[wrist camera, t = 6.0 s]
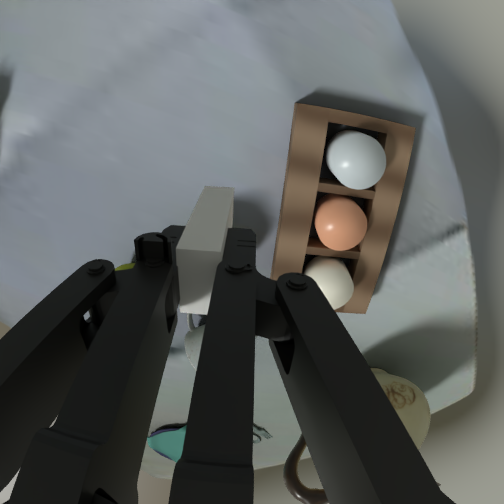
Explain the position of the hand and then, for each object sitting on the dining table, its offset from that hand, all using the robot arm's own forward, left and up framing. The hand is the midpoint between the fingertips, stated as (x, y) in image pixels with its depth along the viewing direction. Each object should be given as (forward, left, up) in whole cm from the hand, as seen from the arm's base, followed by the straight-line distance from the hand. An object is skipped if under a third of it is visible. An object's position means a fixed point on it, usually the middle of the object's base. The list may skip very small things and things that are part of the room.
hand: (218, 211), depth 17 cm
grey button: (-1, +13, -21) cm, 24 cm away
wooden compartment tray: (+7, +13, -22) cm, 27 cm away
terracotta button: (+7, +13, -22) cm, 26 cm away
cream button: (+15, +13, -21) cm, 29 cm away
